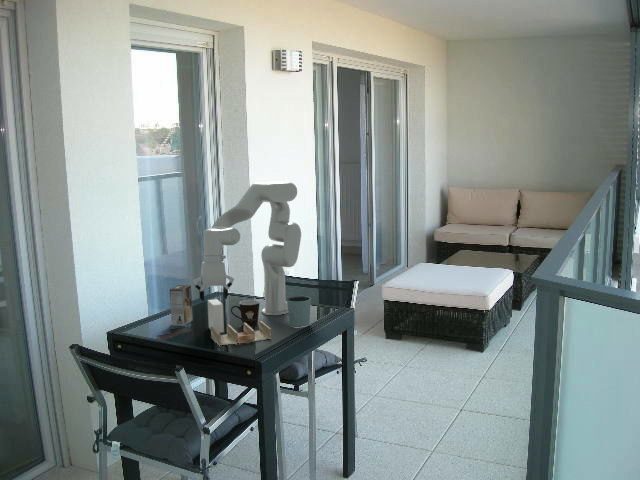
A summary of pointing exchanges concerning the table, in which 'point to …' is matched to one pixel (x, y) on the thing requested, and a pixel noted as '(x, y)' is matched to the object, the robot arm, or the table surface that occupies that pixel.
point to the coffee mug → (248, 312)
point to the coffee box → (181, 305)
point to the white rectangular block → (215, 315)
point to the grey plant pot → (299, 310)
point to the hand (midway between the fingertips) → (213, 299)
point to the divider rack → (241, 334)
